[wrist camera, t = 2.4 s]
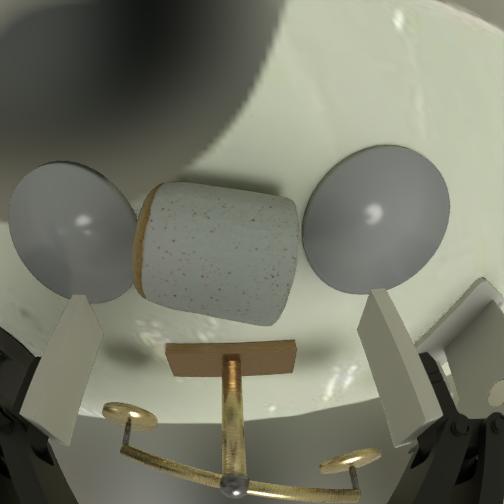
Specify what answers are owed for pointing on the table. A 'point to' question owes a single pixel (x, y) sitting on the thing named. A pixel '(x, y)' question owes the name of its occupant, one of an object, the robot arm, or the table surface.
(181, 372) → the balance
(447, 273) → the table surface
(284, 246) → the ceramic mug
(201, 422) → the table surface
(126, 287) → the dish low side
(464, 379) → the phone holder
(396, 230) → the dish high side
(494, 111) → the table surface
